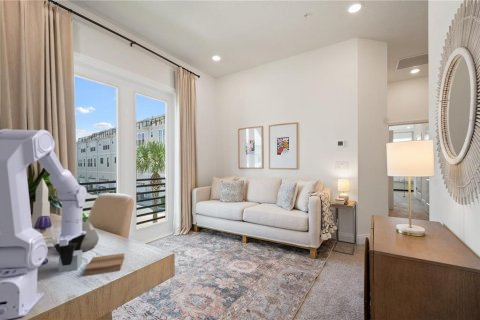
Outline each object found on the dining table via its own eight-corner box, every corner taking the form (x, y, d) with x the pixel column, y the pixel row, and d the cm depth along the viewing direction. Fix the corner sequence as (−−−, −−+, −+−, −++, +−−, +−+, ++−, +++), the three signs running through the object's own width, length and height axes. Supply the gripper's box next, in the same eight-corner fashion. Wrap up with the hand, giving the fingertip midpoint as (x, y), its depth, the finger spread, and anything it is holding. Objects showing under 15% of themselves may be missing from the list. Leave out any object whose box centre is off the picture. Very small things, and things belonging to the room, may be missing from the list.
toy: (101, 249, 91) (102, 213, 91) (60, 258, 81) (61, 218, 82) (94, 240, 101) (95, 208, 102) (57, 248, 92) (58, 212, 93)
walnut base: (120, 271, 72) (120, 264, 72) (84, 277, 69) (84, 269, 69) (124, 260, 81) (124, 253, 82) (92, 264, 78) (93, 257, 78)
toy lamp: (49, 259, 81) (50, 214, 81) (51, 262, 78) (53, 216, 78) (31, 263, 77) (32, 216, 77) (33, 267, 74) (35, 218, 74)
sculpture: (39, 253, 86) (41, 177, 87) (23, 251, 88) (25, 177, 89) (56, 246, 93) (58, 177, 94) (41, 245, 95) (43, 176, 96)
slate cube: (77, 270, 72) (77, 255, 73) (58, 272, 71) (59, 257, 71) (81, 264, 77) (82, 249, 77) (64, 266, 75) (65, 251, 75)
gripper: (79, 224, 69) (78, 267, 69) (91, 214, 83) (90, 250, 82) (51, 226, 67) (50, 271, 66) (69, 216, 80) (68, 253, 80)
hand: (71, 260), depth 74 cm, fingers open, 7 cm apart
